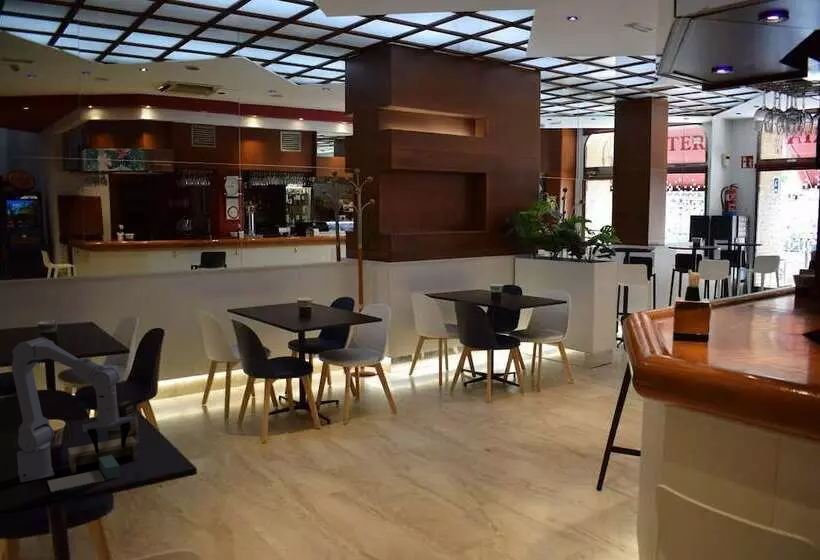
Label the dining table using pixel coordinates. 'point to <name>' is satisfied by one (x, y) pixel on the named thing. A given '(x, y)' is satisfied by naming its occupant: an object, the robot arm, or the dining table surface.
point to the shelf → (101, 452)
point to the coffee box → (125, 410)
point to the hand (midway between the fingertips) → (110, 449)
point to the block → (109, 467)
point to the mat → (75, 481)
